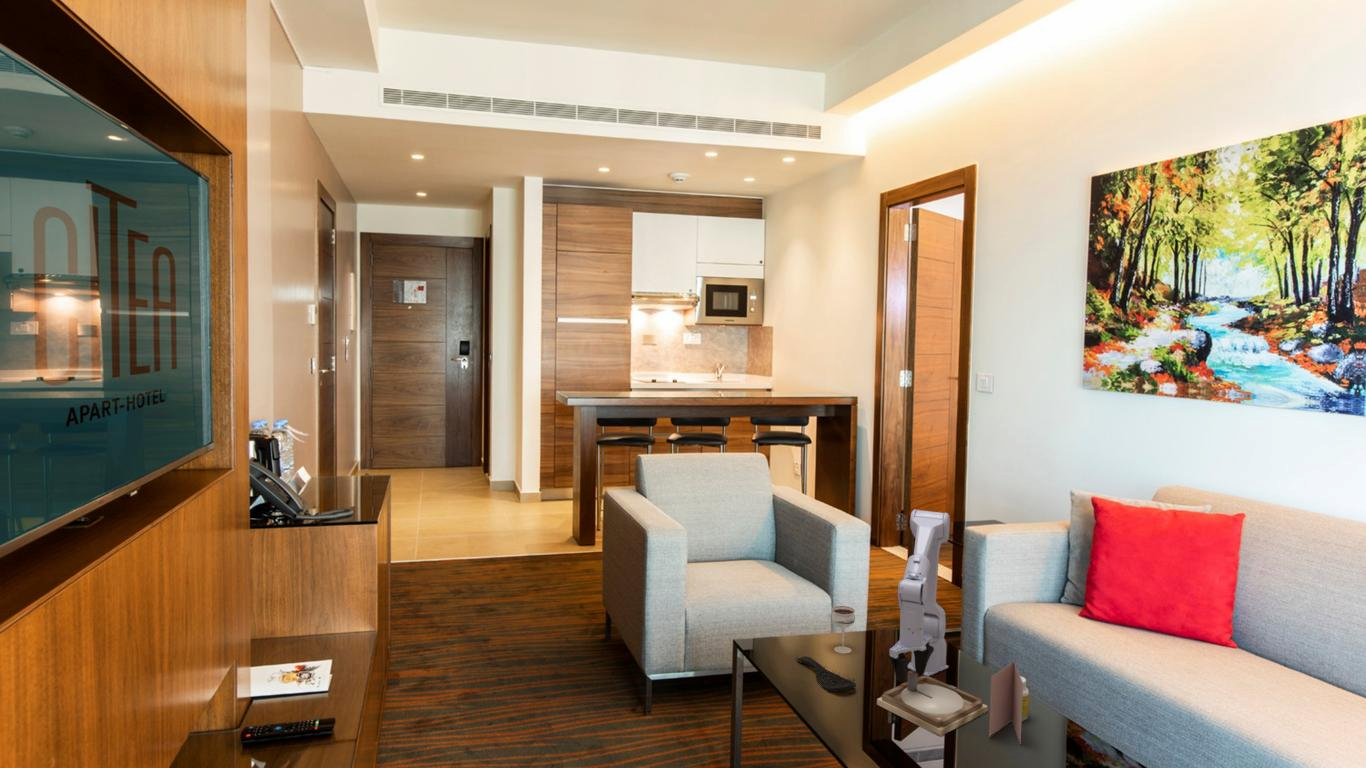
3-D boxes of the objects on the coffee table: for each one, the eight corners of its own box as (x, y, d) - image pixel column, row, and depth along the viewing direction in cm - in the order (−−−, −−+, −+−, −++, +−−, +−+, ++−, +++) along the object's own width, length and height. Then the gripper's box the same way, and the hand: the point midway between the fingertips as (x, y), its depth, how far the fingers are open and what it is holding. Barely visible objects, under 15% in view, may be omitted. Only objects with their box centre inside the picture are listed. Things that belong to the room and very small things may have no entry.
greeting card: (1008, 719, 203) (1010, 660, 201) (1038, 731, 197) (1041, 670, 196) (985, 736, 195) (987, 675, 193) (1016, 749, 190) (1018, 686, 188)
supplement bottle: (1017, 724, 200) (1018, 685, 199) (999, 714, 205) (1000, 676, 204) (1032, 718, 203) (1034, 680, 202) (1014, 709, 208) (1016, 671, 207)
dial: (975, 704, 207) (976, 683, 206) (939, 723, 198) (939, 702, 197) (925, 682, 219) (925, 662, 218) (888, 699, 209) (889, 679, 209)
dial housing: (924, 683, 221) (924, 672, 221) (987, 711, 206) (988, 700, 206) (876, 704, 210) (877, 693, 210) (940, 736, 195) (940, 724, 195)
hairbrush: (810, 646, 239) (863, 678, 216) (810, 659, 239) (863, 692, 216) (785, 652, 236) (836, 685, 213) (785, 665, 236) (837, 699, 213)
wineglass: (830, 644, 246) (830, 605, 245) (853, 645, 246) (854, 606, 244) (831, 654, 239) (832, 614, 238) (855, 655, 239) (856, 615, 237)
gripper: (906, 638, 203) (904, 691, 204) (942, 623, 211) (941, 674, 213) (883, 629, 208) (882, 680, 210) (919, 615, 217) (918, 664, 219)
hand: (910, 677), depth 212 cm, fingers open, 7 cm apart
